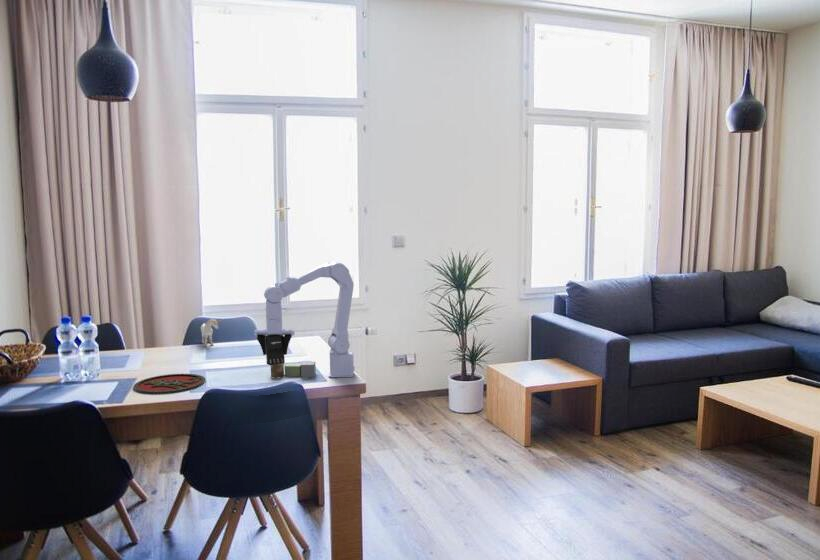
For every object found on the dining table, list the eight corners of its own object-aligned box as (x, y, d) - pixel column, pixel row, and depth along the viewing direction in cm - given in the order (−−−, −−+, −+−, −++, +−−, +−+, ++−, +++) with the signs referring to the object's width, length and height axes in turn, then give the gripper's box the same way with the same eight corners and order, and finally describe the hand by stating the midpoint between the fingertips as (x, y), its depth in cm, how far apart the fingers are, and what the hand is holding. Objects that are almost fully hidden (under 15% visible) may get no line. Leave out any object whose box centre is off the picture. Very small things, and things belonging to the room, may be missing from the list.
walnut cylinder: (284, 374, 243) (284, 361, 242) (282, 377, 238) (282, 365, 237) (272, 374, 243) (271, 362, 242) (269, 378, 238) (269, 365, 237)
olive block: (302, 373, 244) (302, 363, 244) (299, 376, 240) (299, 366, 240) (287, 373, 245) (287, 363, 244) (284, 376, 241) (284, 366, 240)
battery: (267, 366, 228) (266, 335, 227) (265, 364, 232) (264, 334, 231) (286, 364, 231) (285, 334, 230) (284, 362, 235) (282, 332, 234)
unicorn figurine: (212, 349, 289) (211, 321, 288) (192, 343, 303) (191, 316, 301) (226, 346, 294) (225, 319, 293) (206, 341, 308) (205, 314, 306)
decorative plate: (186, 392, 216) (119, 391, 219) (186, 396, 216) (119, 394, 219) (216, 374, 241) (155, 372, 243) (216, 377, 241) (156, 375, 244)
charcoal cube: (315, 374, 243) (315, 361, 243) (314, 377, 238) (313, 364, 238) (302, 374, 243) (302, 361, 243) (301, 377, 238) (300, 364, 238)
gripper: (295, 316, 234) (296, 351, 235) (256, 316, 233) (257, 352, 235) (292, 319, 227) (293, 355, 228) (252, 320, 226) (253, 356, 228)
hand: (275, 354), depth 231 cm, fingers closed on battery, 7 cm apart
